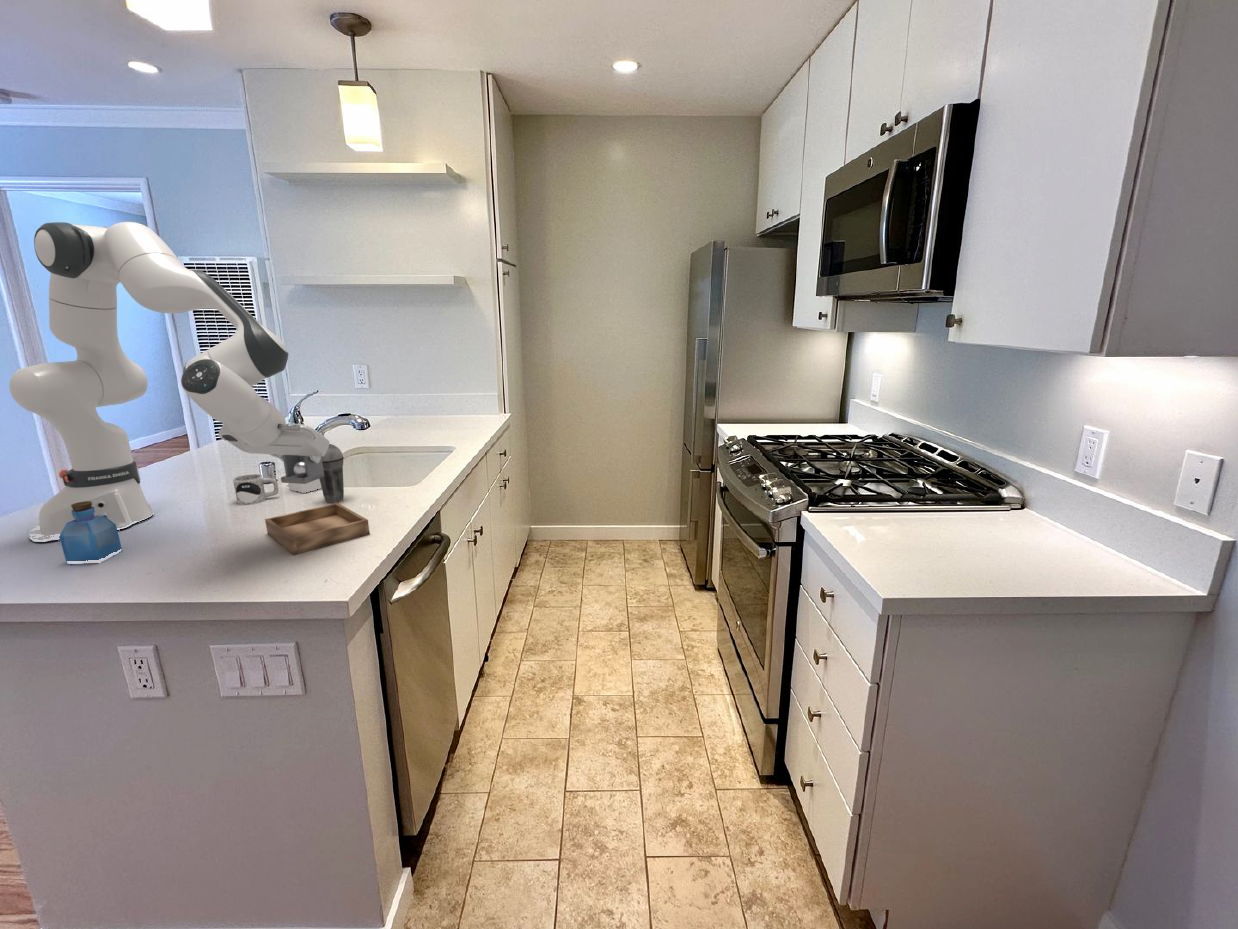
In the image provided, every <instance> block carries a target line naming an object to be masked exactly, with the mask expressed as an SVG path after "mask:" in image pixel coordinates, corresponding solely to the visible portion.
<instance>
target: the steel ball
mask: <svg viewBox="0 0 1238 929" xmlns="http://www.w3.org/2000/svg"><path fill="white" fill-rule="evenodd" d="M293 471H294V473H295V474H296V475H297V476H299V477H306V476H307V473H306V467H305V462H304V461H301V462H298V463H296V464H295V465H294V468H293Z"/></svg>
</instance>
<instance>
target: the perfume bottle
mask: <svg viewBox="0 0 1238 929" xmlns="http://www.w3.org/2000/svg"><path fill="white" fill-rule="evenodd" d="M71 507H72V508H73V510H72V511H71V512H72V516H74V517H75V520H72V521H70V522H67V523H66V525H65V527H64V529H63V531H62V532H61V534H60V536H59V538H60V540H59V542H60V544H61V549H62V552H63V555H64V559H65V562H66V561H86V560H87V561H88V560H99V559H101V558H105V557H106V556H108V555H109V554H111V553H113V552H117V551H118V550H120V549H122V550H123V548H122V544H121V540H120V536H119V531H117V527H116V524H114V523H113V522H112V521H110V520H109V519H108V518H106V517H105V516H104V515H101V516H94V513H95V509H94V507H92V502H91V501H84V502H78V503H74V504H72V505H71Z"/></svg>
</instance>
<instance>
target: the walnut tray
mask: <svg viewBox="0 0 1238 929" xmlns="http://www.w3.org/2000/svg"><path fill="white" fill-rule="evenodd" d="M264 522H265V527H266V528H265V529H266V532H267V534H268V535H269V536H270V537H271V538H273V540H275V541H276V542H277V543H278V544H279V545H281V546H282V547H283V548H284V549H286V550H287V551H288V552H289V553H290V554H292V555H293V556H296V555H298V554H304V553H307V552H310V551H313V550H317V549H321V548H325V547H328V546H331V545H332V546H333V545H336V544H340V543H343V542H347V541H350V540H354V539H357V538H361V537H365V536H369V535H370V534H371V533H370V526H369V520H368V518H366V517H364V516H362V515H360V514H359V513H356V512H355V511H353V510H351V509H350V508H348V507H346V506H344V505H342V504H340V502H337V503H329V504H326V505H322V506H318V507H317V506H316V507H313V508H307V509H305V510H301V511H295V512H291V513H287V514H282V515H277V516H272V517H269V518H265V519H264Z"/></svg>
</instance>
